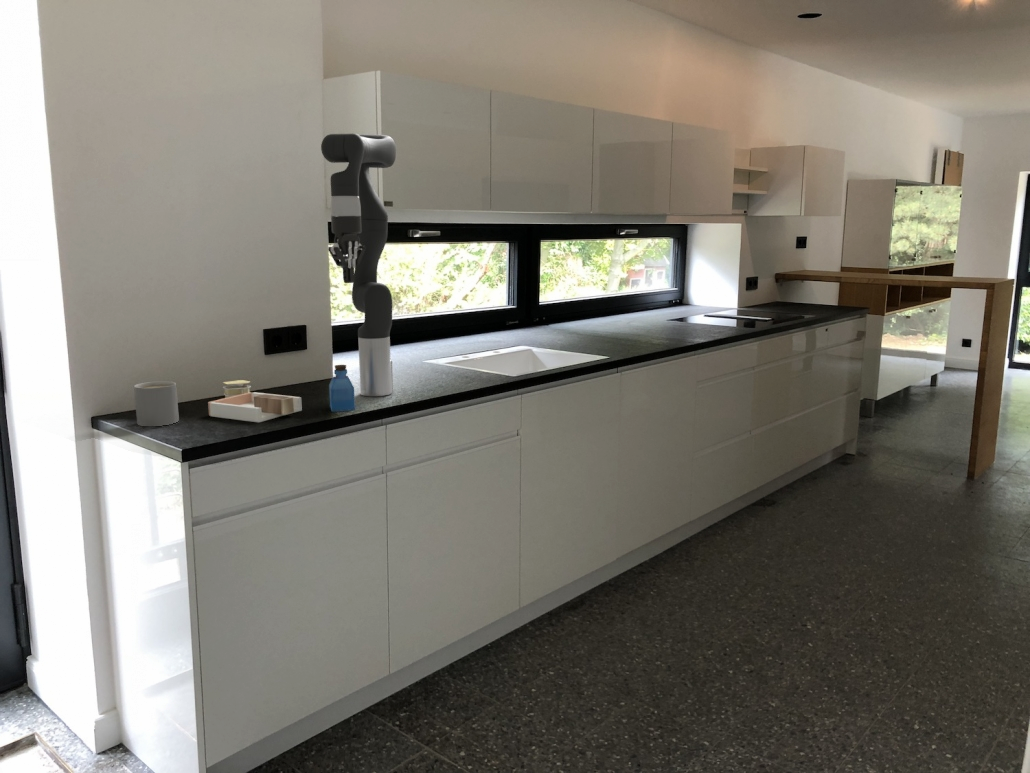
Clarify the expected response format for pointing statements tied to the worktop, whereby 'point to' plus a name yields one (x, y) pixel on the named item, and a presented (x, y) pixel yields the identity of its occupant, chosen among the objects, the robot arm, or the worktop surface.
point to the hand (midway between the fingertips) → (348, 282)
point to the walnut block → (274, 404)
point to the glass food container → (236, 388)
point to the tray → (245, 408)
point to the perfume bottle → (341, 391)
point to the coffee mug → (156, 403)
